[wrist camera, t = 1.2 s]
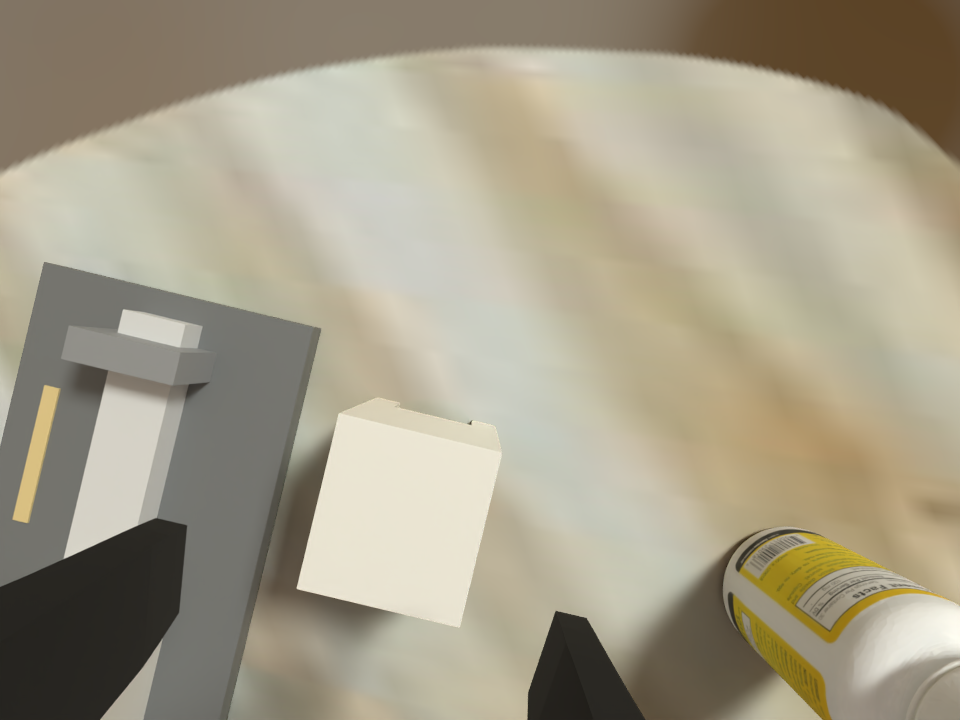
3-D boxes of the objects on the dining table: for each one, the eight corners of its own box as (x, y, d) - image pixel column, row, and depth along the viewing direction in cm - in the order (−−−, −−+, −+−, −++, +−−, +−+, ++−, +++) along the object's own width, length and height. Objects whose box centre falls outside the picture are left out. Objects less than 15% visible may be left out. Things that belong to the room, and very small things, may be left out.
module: (464, 552, 22) (459, 627, 16) (343, 523, 21) (291, 587, 15) (494, 425, 22) (502, 452, 16) (373, 396, 21) (334, 412, 15)
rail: (199, 835, 21) (64, 1067, 14) (-57, 776, 21) (-317, 980, 14) (321, 328, 21) (245, 315, 14) (64, 266, 21) (-138, 222, 14)
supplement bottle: (823, 665, 22) (1109, 921, 12) (702, 627, 22) (889, 853, 12) (862, 544, 22) (1181, 700, 12) (740, 506, 22) (960, 630, 12)
